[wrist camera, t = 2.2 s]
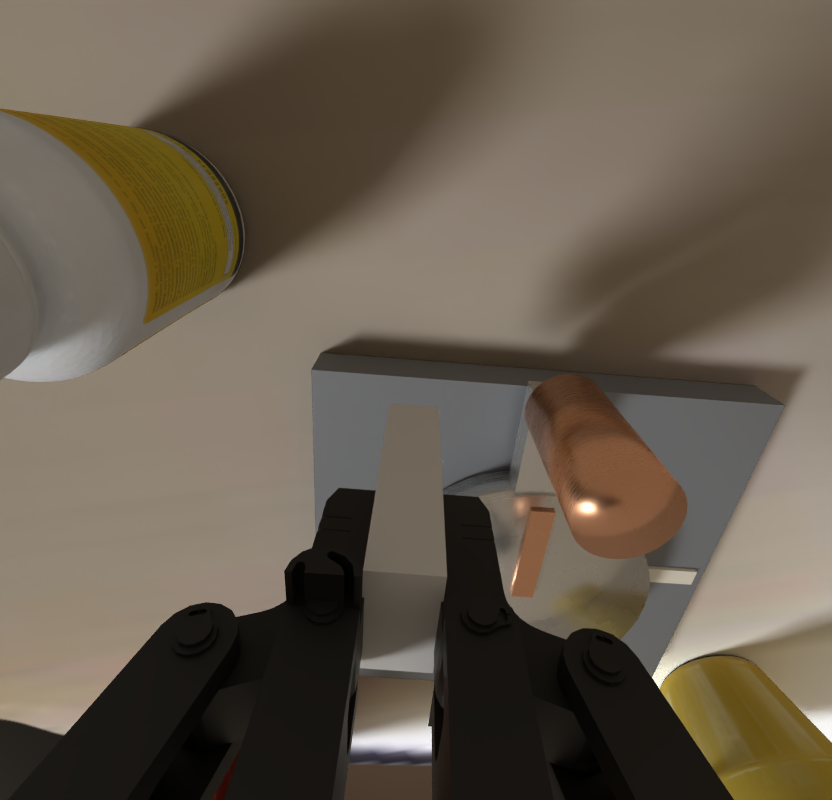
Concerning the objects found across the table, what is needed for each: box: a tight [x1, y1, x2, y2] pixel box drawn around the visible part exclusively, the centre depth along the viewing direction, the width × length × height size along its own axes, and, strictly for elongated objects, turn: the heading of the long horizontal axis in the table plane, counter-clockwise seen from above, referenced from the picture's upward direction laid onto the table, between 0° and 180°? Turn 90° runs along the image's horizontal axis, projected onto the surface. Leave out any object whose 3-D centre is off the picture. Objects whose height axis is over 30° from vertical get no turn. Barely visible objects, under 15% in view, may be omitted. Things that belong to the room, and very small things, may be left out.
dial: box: [443, 374, 687, 639], centre depth 19 cm, size 18×12×8 cm
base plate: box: [311, 353, 785, 681], centre depth 24 cm, size 20×20×2 cm
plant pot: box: [660, 656, 832, 800], centre depth 27 cm, size 10×10×10 cm
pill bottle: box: [0, 109, 245, 382], centre depth 13 cm, size 6×6×12 cm
